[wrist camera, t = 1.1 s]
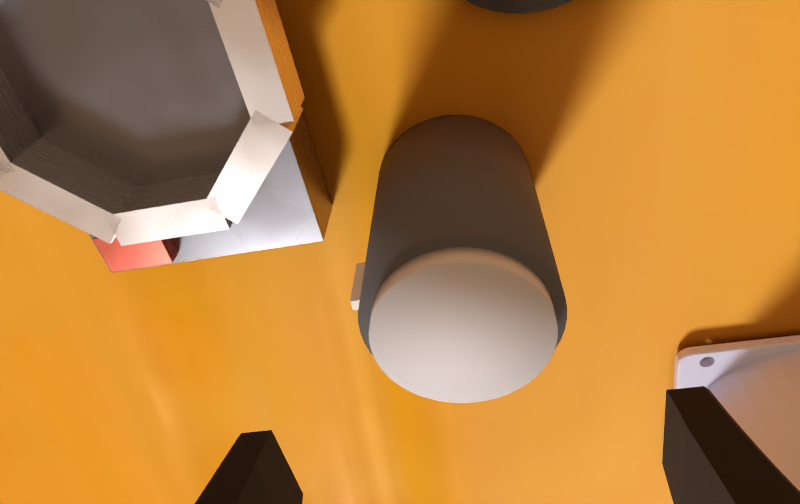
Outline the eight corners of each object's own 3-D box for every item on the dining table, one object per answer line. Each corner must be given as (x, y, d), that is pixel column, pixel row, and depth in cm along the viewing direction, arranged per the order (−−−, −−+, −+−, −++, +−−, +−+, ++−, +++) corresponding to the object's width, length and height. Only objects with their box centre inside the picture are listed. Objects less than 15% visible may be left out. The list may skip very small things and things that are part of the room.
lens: (523, 101, 18) (565, 235, 12) (536, 237, 20) (576, 400, 15) (351, 132, 19) (314, 271, 13) (385, 259, 21) (367, 421, 15)
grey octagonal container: (246, -174, 14) (199, -173, 11) (354, 203, 20) (341, 267, 17) (-70, -91, 15) (-185, -71, 13) (116, 240, 21) (67, 305, 18)
